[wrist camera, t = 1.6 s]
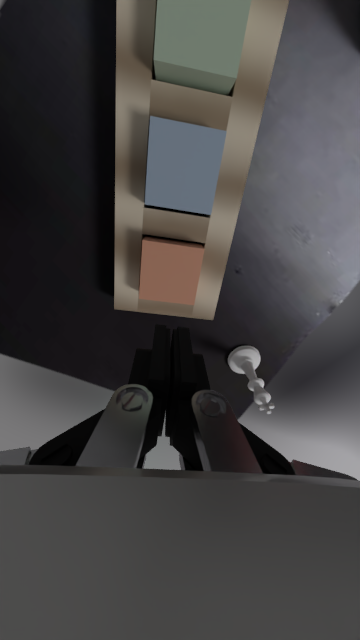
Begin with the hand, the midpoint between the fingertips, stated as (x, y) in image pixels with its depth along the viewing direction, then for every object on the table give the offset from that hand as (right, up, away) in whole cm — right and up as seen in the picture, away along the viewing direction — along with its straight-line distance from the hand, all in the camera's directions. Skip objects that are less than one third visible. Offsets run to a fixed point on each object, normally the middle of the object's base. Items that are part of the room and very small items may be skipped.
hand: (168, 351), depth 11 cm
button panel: (+1, +16, +12) cm, 20 cm away
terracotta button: (-1, +8, +14) cm, 16 cm away
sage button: (+2, +23, +6) cm, 24 cm away
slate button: (+1, +15, +10) cm, 18 cm away
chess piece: (+10, -4, +23) cm, 26 cm away
